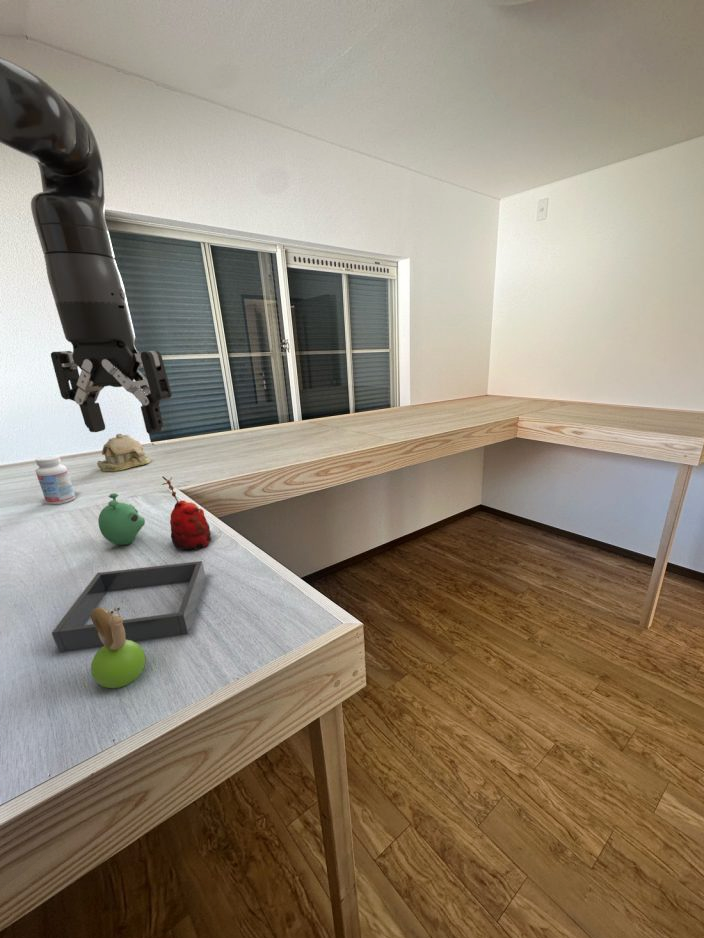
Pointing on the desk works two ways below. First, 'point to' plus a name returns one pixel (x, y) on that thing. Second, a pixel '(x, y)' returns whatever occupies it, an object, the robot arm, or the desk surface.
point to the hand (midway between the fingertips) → (126, 431)
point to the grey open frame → (82, 636)
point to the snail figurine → (115, 651)
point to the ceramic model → (122, 454)
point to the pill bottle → (54, 480)
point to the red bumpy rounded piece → (188, 525)
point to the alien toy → (120, 522)
